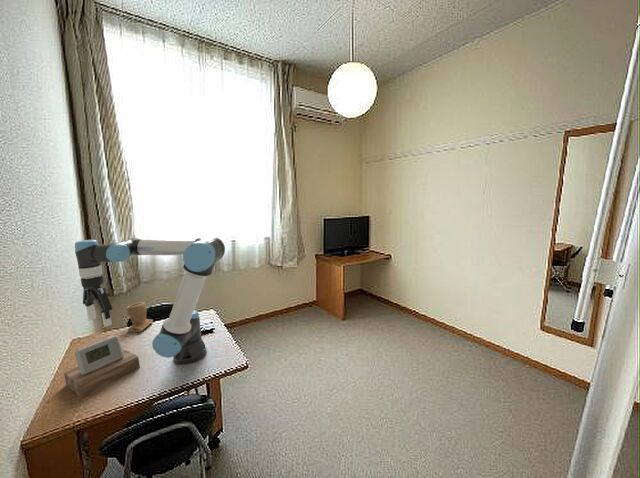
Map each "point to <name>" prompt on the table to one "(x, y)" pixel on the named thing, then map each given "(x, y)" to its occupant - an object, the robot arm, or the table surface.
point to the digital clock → (99, 354)
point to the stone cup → (138, 317)
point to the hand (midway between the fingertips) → (100, 322)
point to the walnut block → (101, 375)
